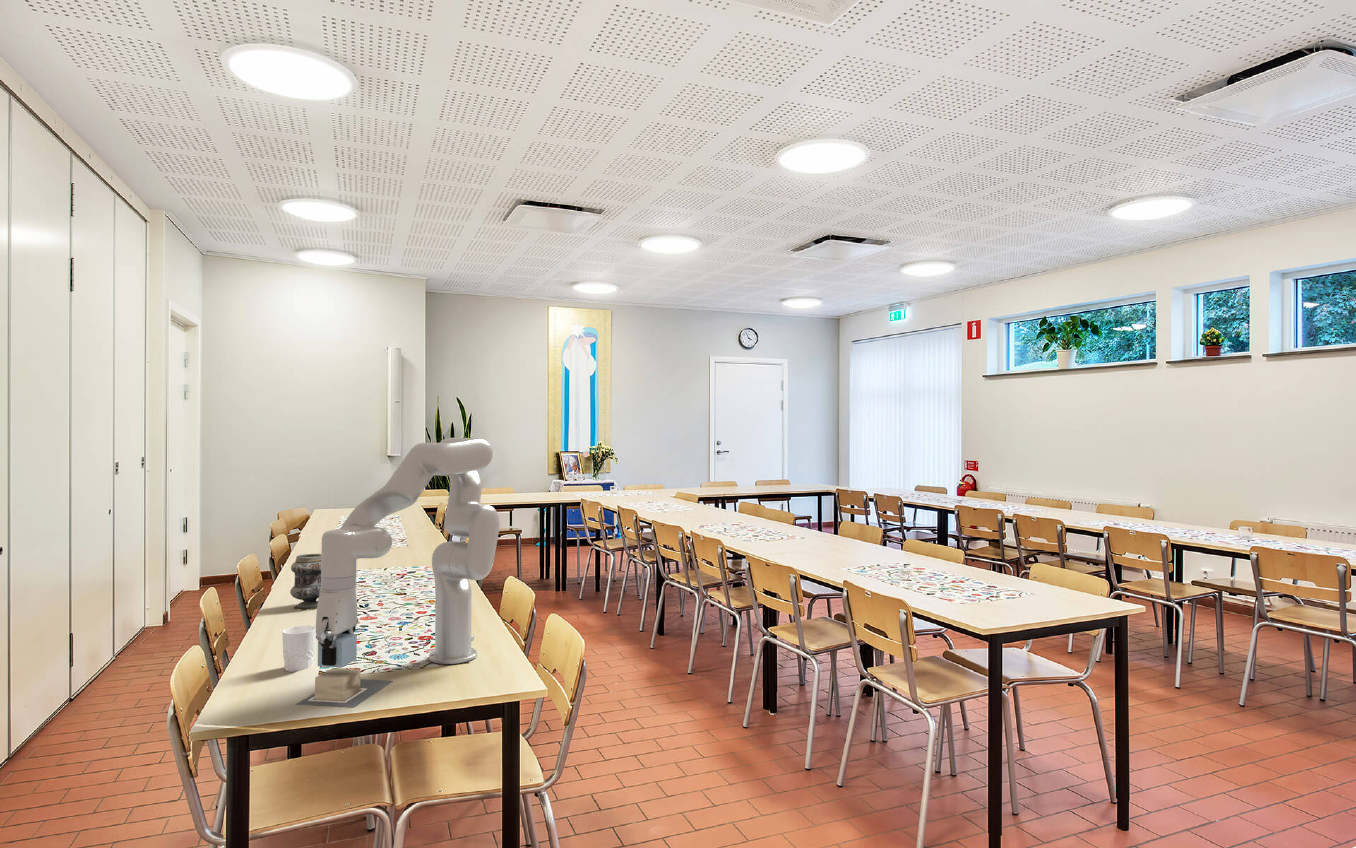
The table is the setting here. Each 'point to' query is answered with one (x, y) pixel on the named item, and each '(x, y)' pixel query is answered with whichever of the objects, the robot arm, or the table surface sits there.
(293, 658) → the white cup
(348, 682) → the base block
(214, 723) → the table surface
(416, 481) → the robot arm
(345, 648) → the blue block
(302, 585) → the apothecary jar
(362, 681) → the mat
